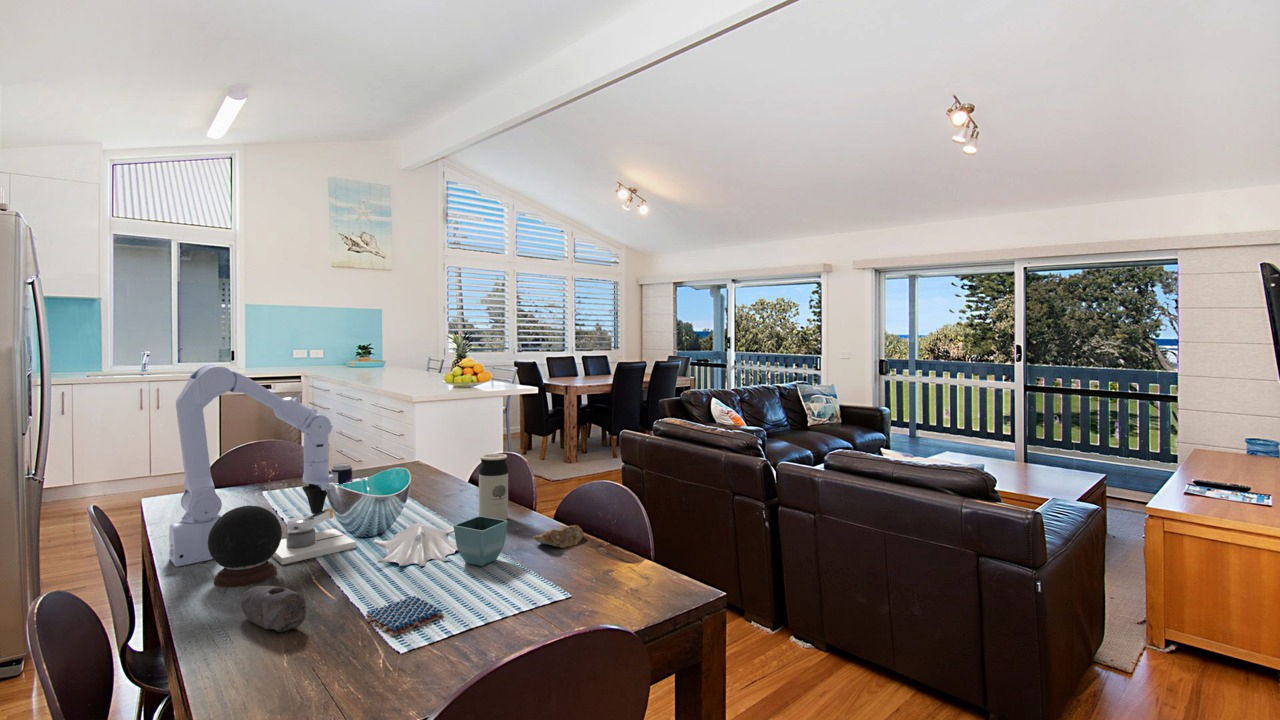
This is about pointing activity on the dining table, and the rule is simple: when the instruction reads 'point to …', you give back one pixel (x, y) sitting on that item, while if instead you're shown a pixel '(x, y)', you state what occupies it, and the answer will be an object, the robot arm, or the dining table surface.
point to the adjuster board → (311, 545)
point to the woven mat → (404, 615)
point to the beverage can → (341, 473)
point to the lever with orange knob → (308, 522)
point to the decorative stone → (561, 537)
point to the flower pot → (480, 539)
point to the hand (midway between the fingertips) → (316, 513)
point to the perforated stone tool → (274, 607)
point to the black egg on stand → (244, 546)
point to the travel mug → (493, 486)
